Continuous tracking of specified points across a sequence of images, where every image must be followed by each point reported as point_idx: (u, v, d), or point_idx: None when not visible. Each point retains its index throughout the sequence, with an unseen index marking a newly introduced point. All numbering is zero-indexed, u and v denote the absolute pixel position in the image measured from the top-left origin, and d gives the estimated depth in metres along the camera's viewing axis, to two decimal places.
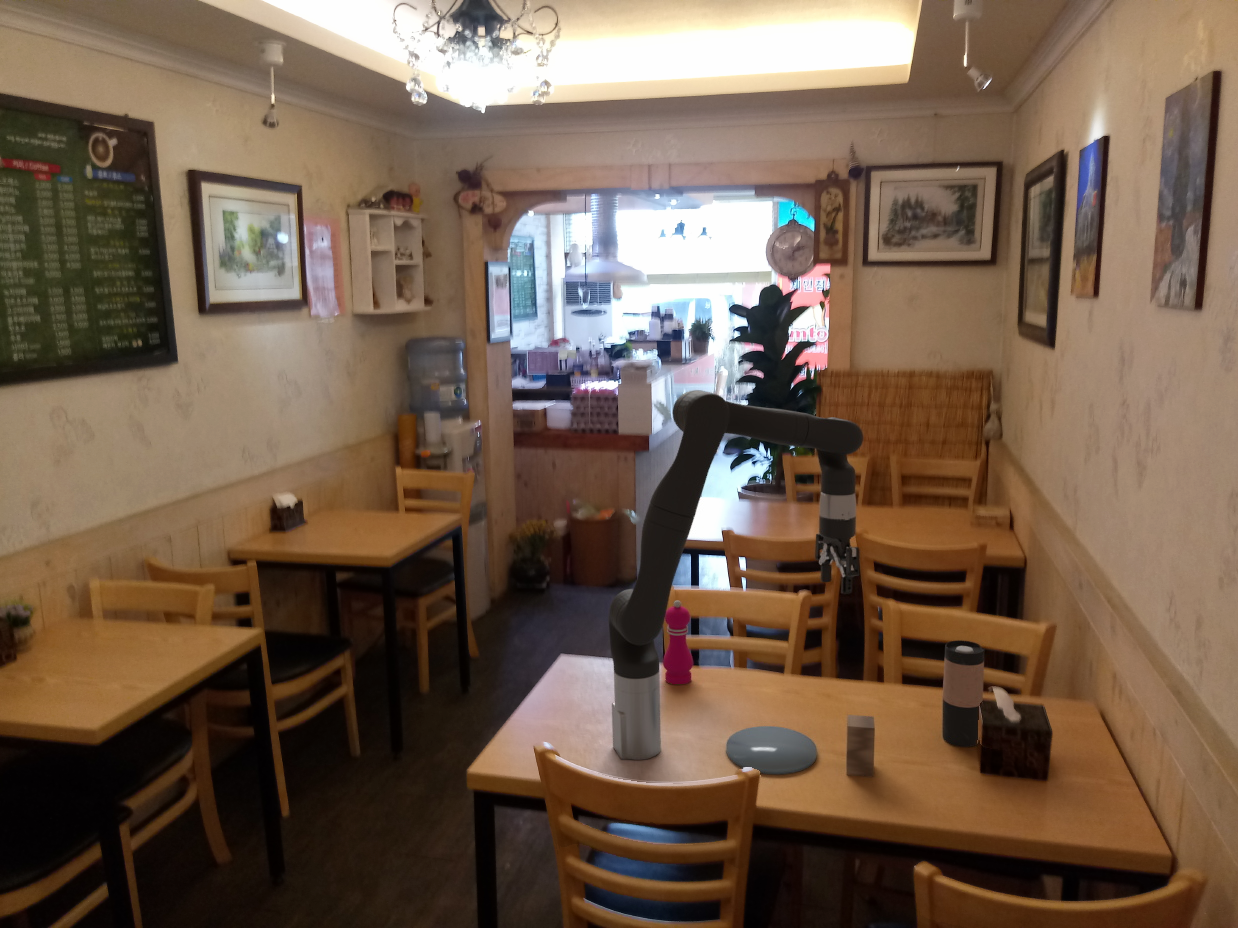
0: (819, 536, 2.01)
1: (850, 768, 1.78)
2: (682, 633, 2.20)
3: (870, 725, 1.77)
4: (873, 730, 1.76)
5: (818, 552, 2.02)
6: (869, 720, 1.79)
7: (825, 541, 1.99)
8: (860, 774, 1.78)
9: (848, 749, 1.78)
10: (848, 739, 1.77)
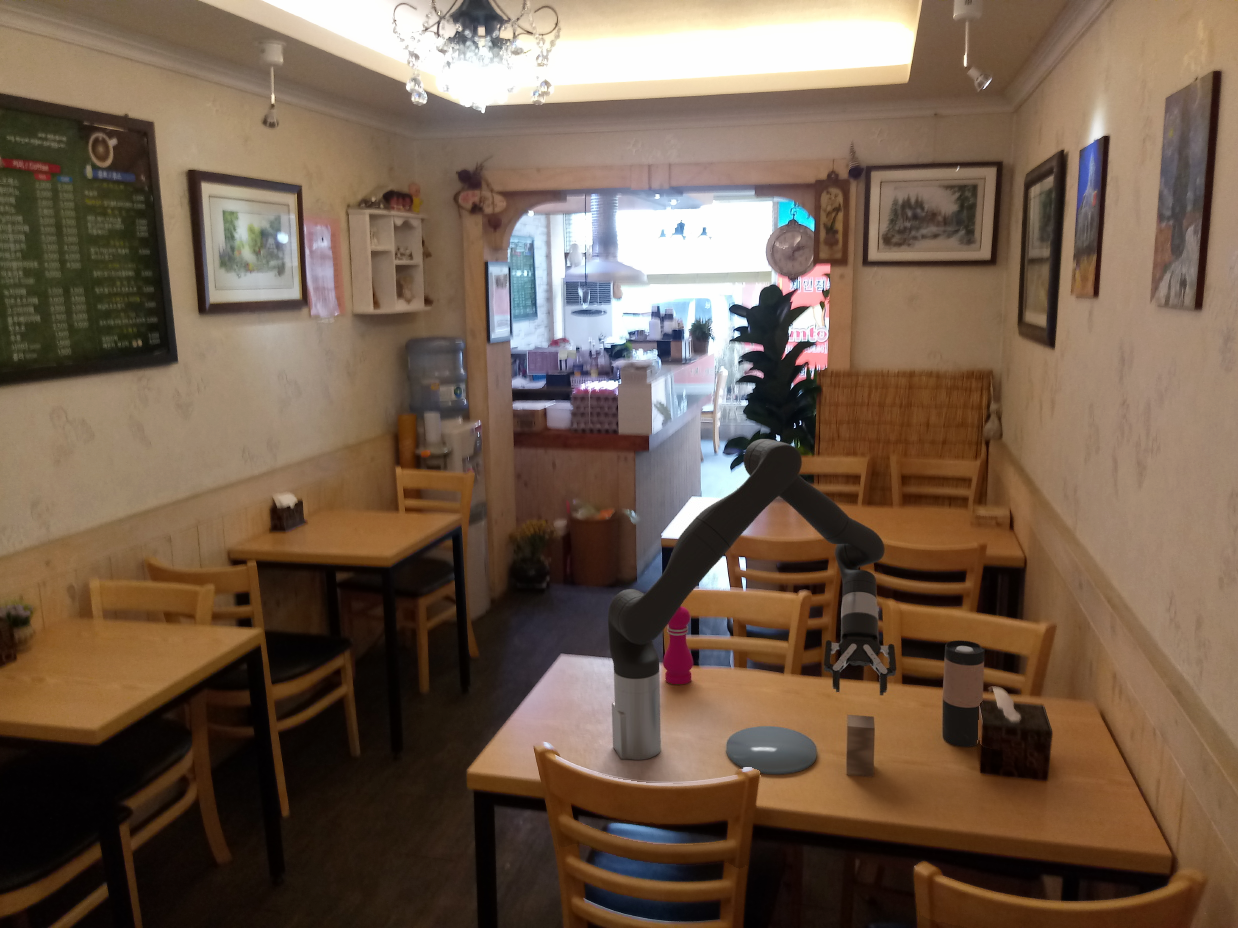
0: None
1: (850, 768, 1.78)
2: (682, 633, 2.20)
3: (870, 725, 1.77)
4: (873, 730, 1.76)
5: (830, 659, 1.90)
6: (869, 720, 1.79)
7: (845, 645, 1.91)
8: (860, 774, 1.78)
9: (848, 749, 1.78)
10: (848, 739, 1.77)
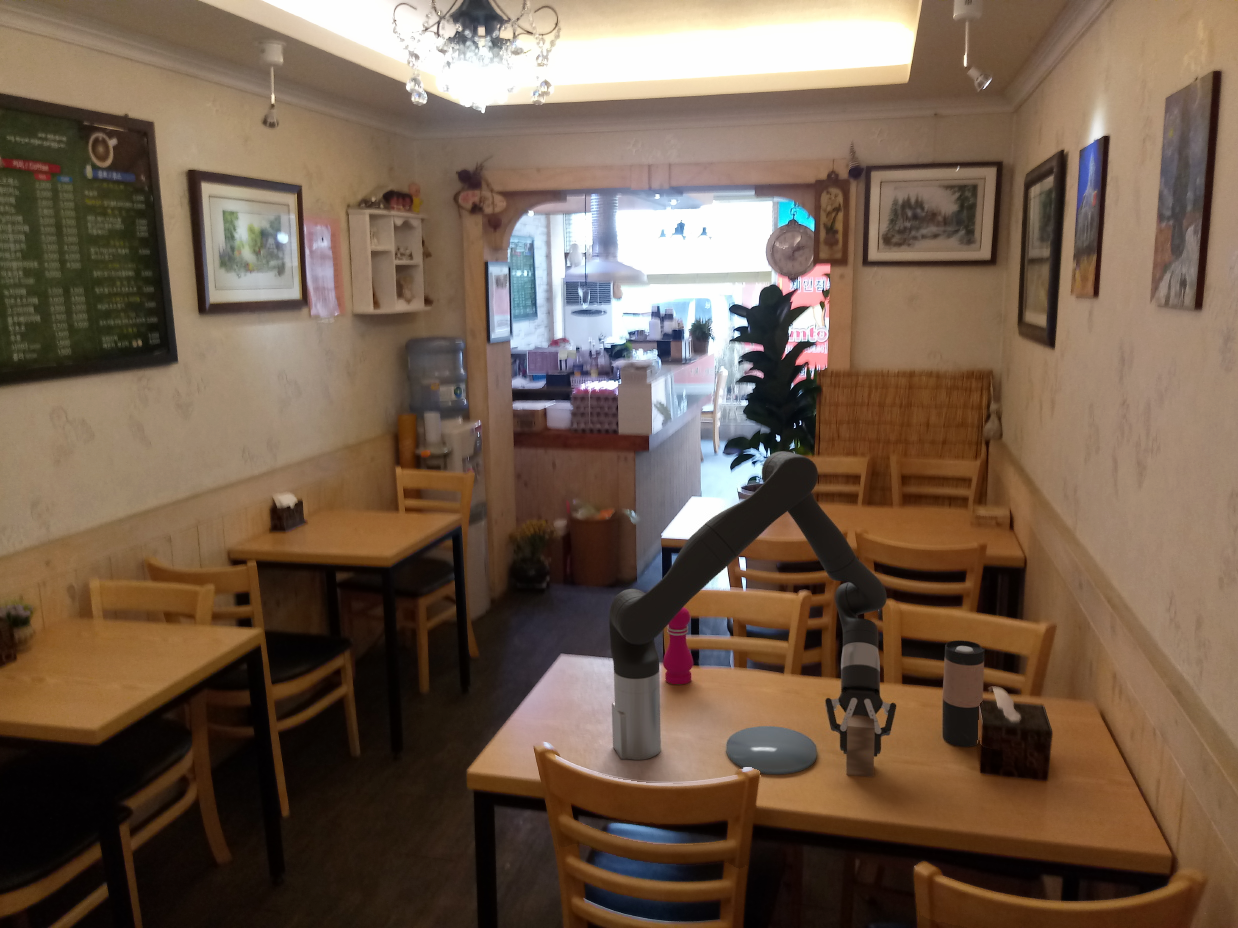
0: (831, 700, 1.84)
1: (850, 768, 1.78)
2: (682, 633, 2.20)
3: (870, 725, 1.77)
4: (873, 730, 1.76)
5: (835, 717, 1.82)
6: (869, 720, 1.79)
7: (845, 698, 1.83)
8: (860, 774, 1.78)
9: (848, 749, 1.78)
10: (848, 739, 1.77)
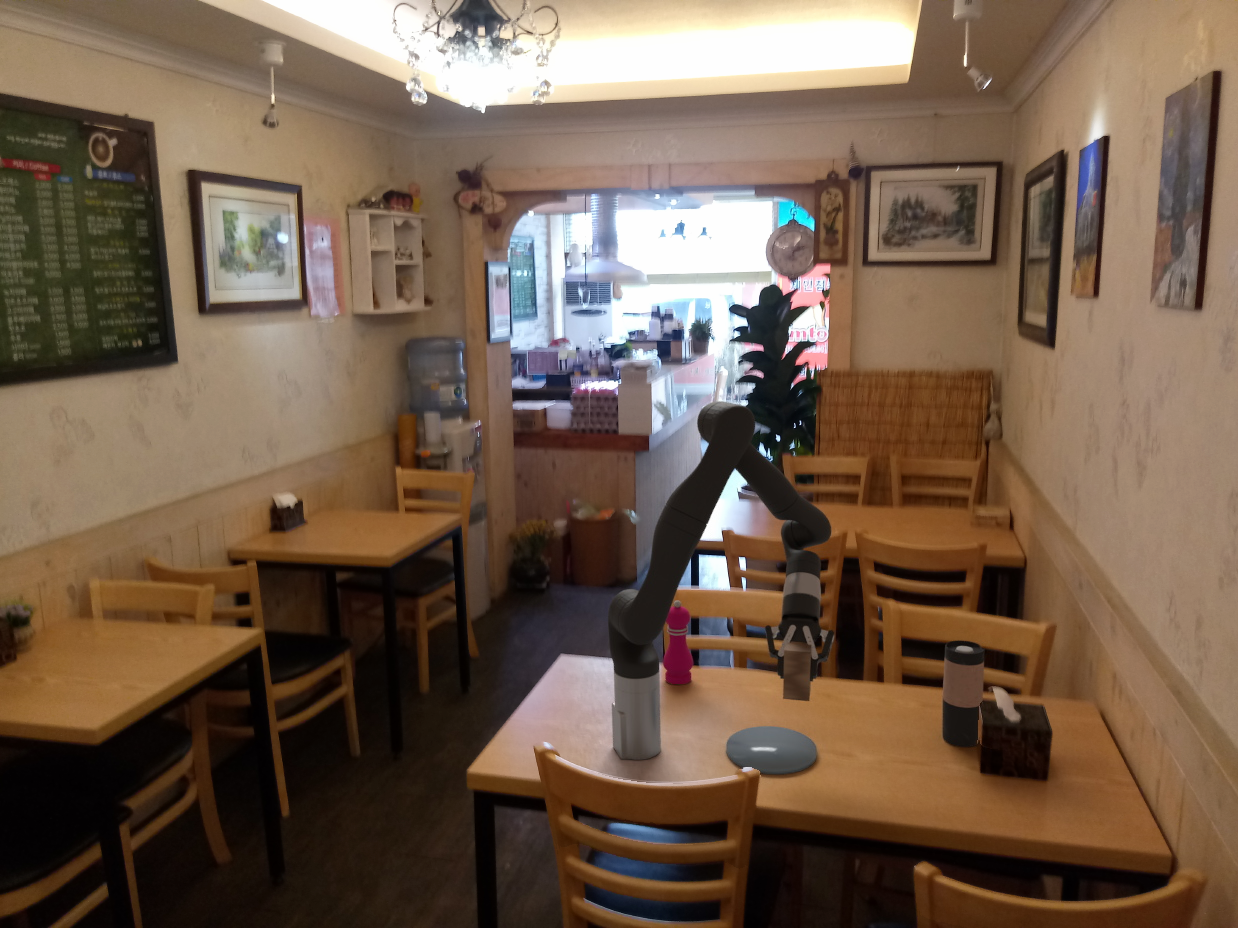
0: (770, 627, 1.86)
1: (786, 693, 1.81)
2: (682, 633, 2.20)
3: (806, 649, 1.79)
4: (809, 654, 1.78)
5: (773, 643, 1.84)
6: (806, 646, 1.81)
7: (785, 626, 1.86)
8: (796, 698, 1.80)
9: (785, 673, 1.80)
10: (785, 663, 1.80)
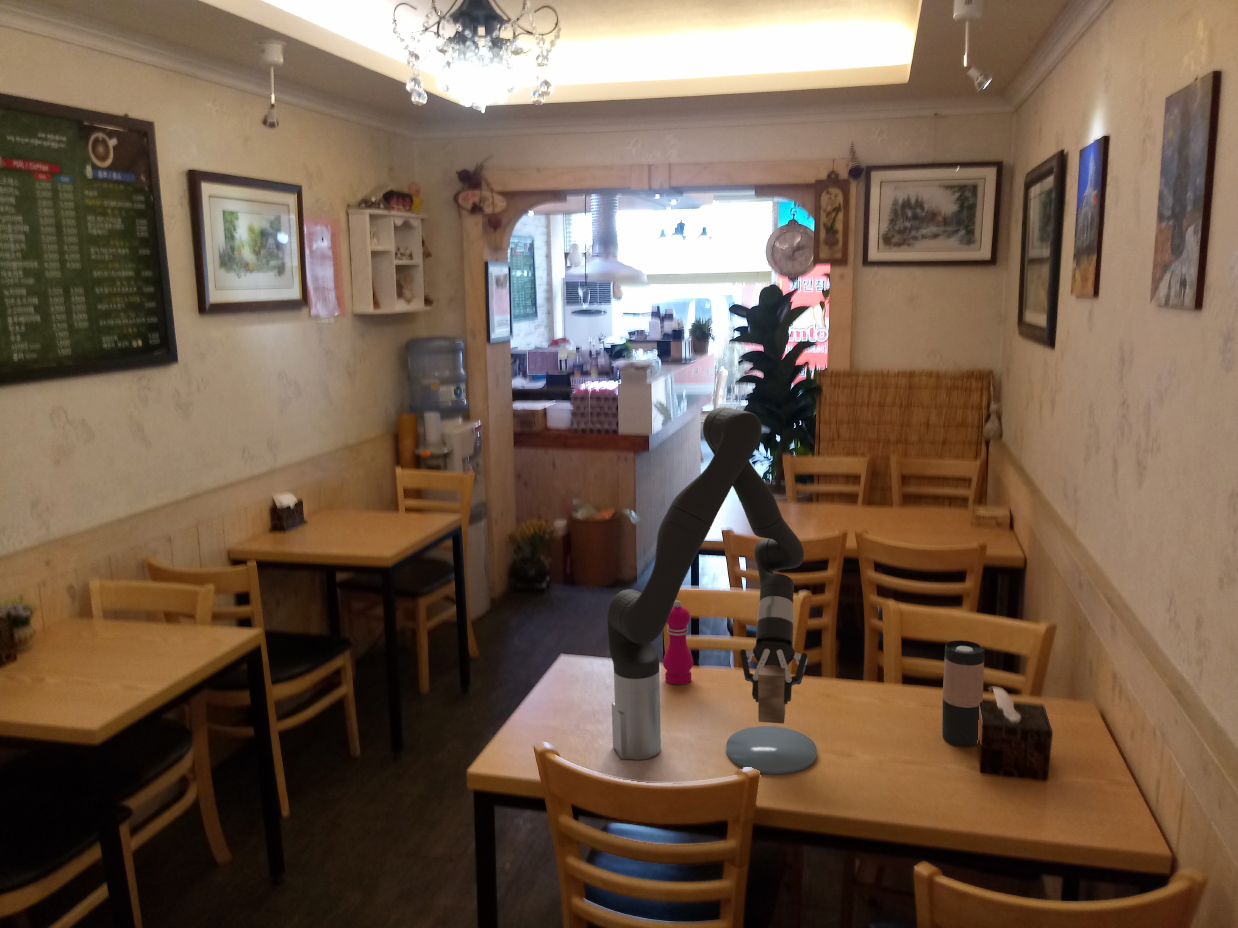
0: (745, 651, 1.90)
1: (762, 716, 1.85)
2: (682, 633, 2.20)
3: (780, 673, 1.83)
4: (782, 678, 1.82)
5: (748, 667, 1.88)
6: (780, 669, 1.85)
7: (759, 649, 1.90)
8: (771, 721, 1.85)
9: (759, 697, 1.84)
10: (759, 687, 1.84)
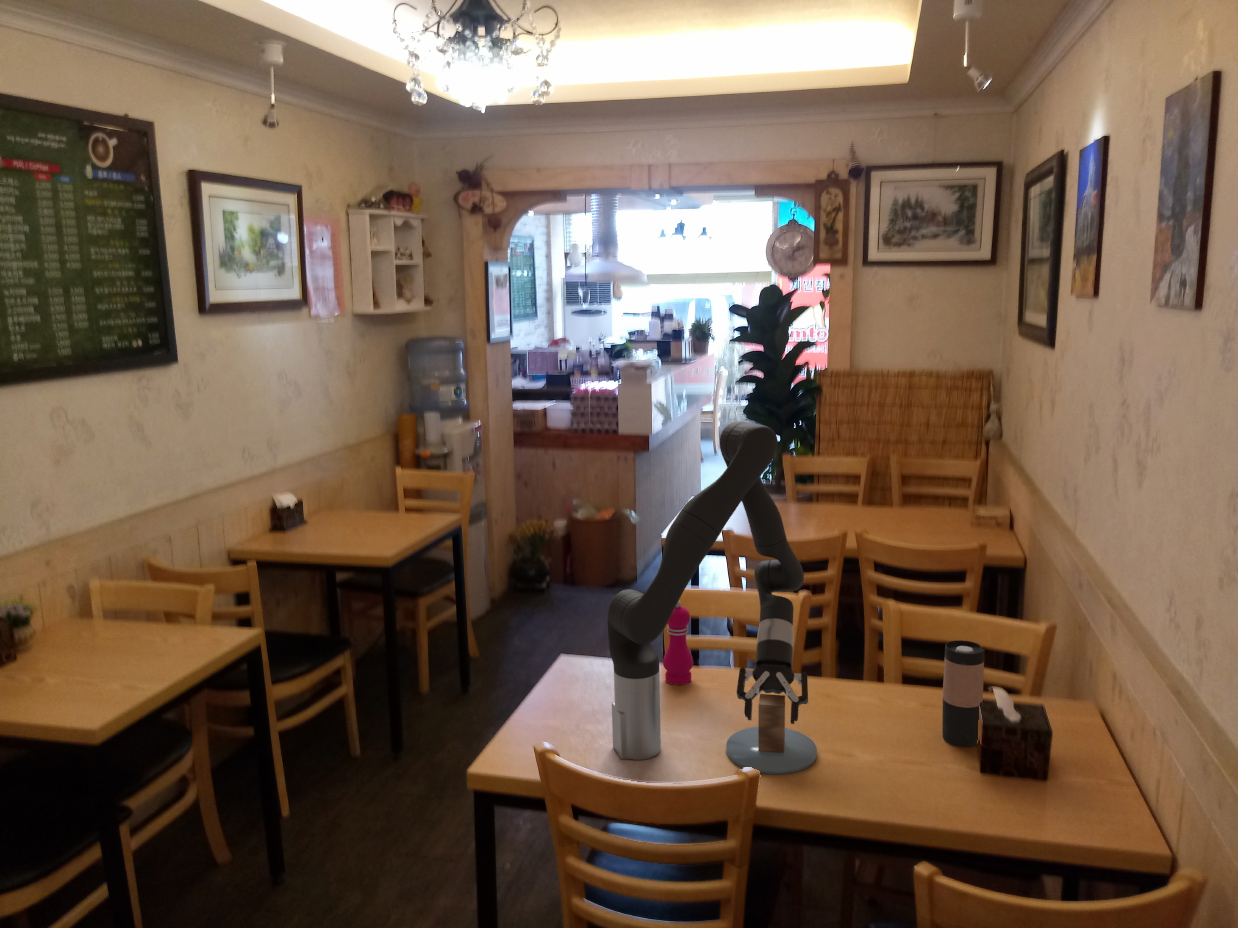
0: (745, 670, 1.91)
1: (762, 745, 1.86)
2: (682, 633, 2.20)
3: (780, 703, 1.84)
4: (782, 708, 1.83)
5: (743, 686, 1.89)
6: (780, 699, 1.86)
7: (758, 672, 1.91)
8: (771, 750, 1.85)
9: (759, 726, 1.85)
10: (759, 717, 1.85)
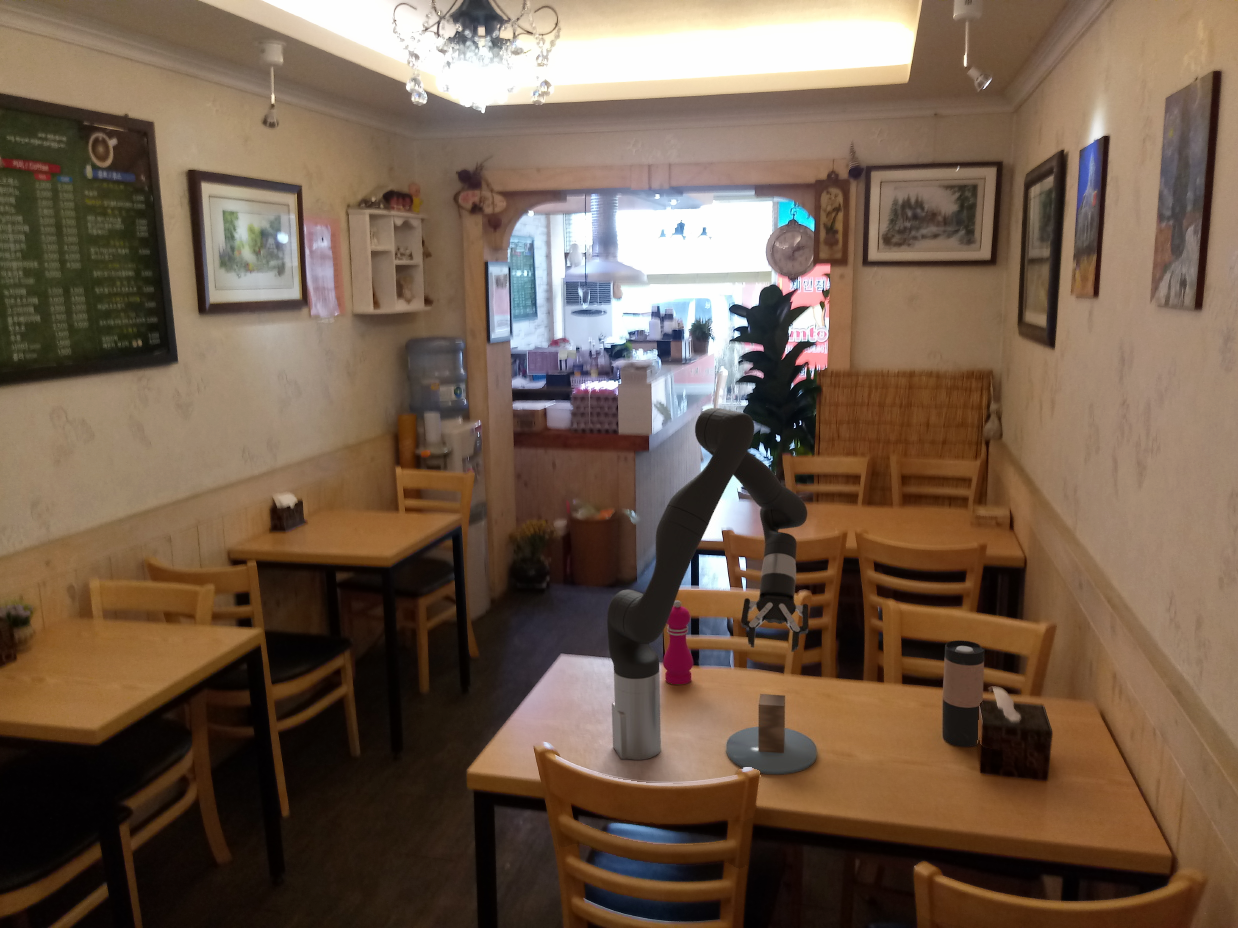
0: (749, 600, 2.02)
1: (762, 745, 1.86)
2: (682, 633, 2.20)
3: (780, 703, 1.84)
4: (782, 708, 1.83)
5: (747, 616, 2.00)
6: (780, 699, 1.86)
7: (762, 603, 2.01)
8: (771, 750, 1.85)
9: (759, 726, 1.85)
10: (759, 717, 1.85)
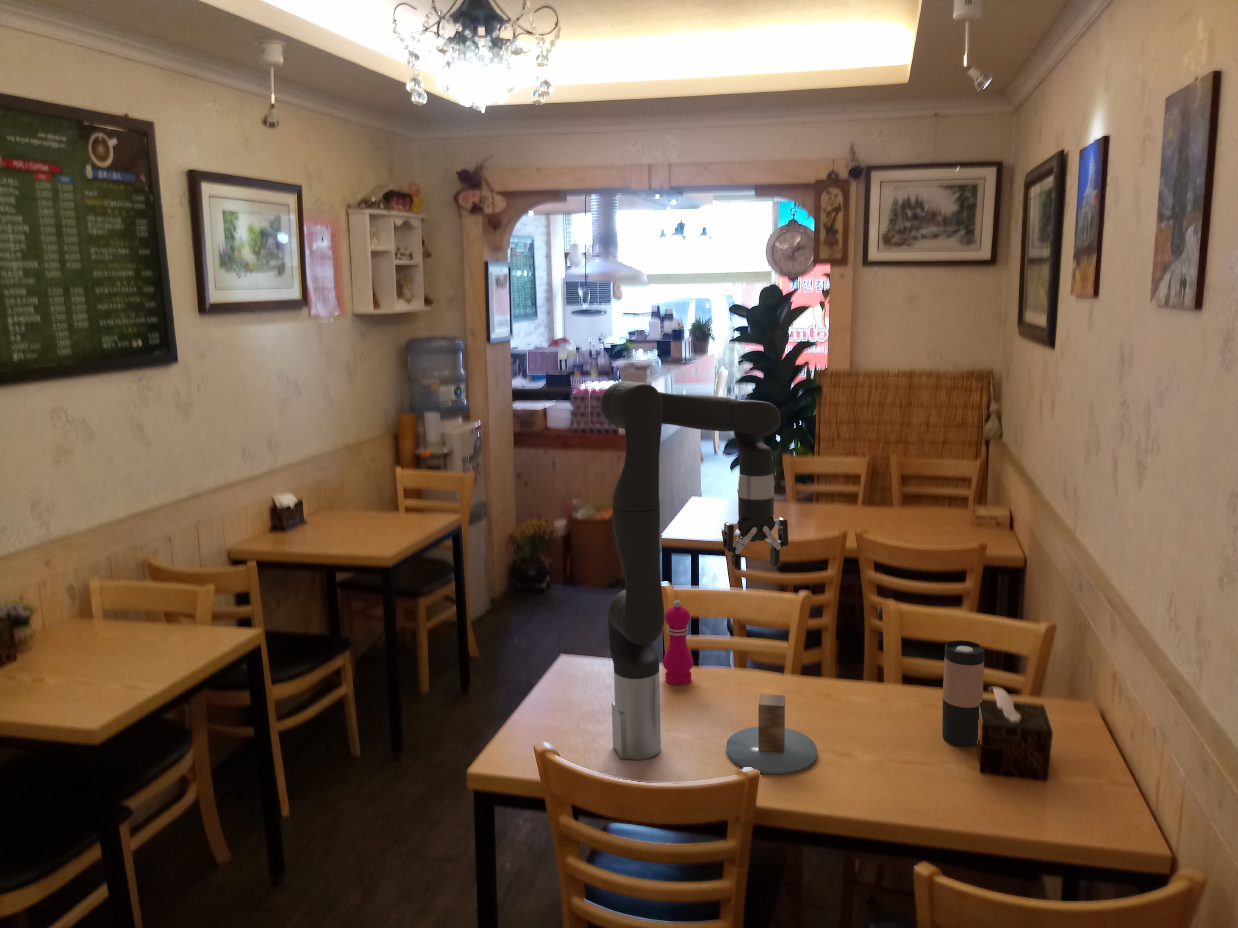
0: None
1: (762, 745, 1.86)
2: (682, 633, 2.20)
3: (780, 703, 1.84)
4: (782, 708, 1.83)
5: (732, 543, 1.97)
6: (780, 699, 1.86)
7: (745, 527, 1.97)
8: (771, 750, 1.85)
9: (759, 726, 1.85)
10: (759, 717, 1.85)
